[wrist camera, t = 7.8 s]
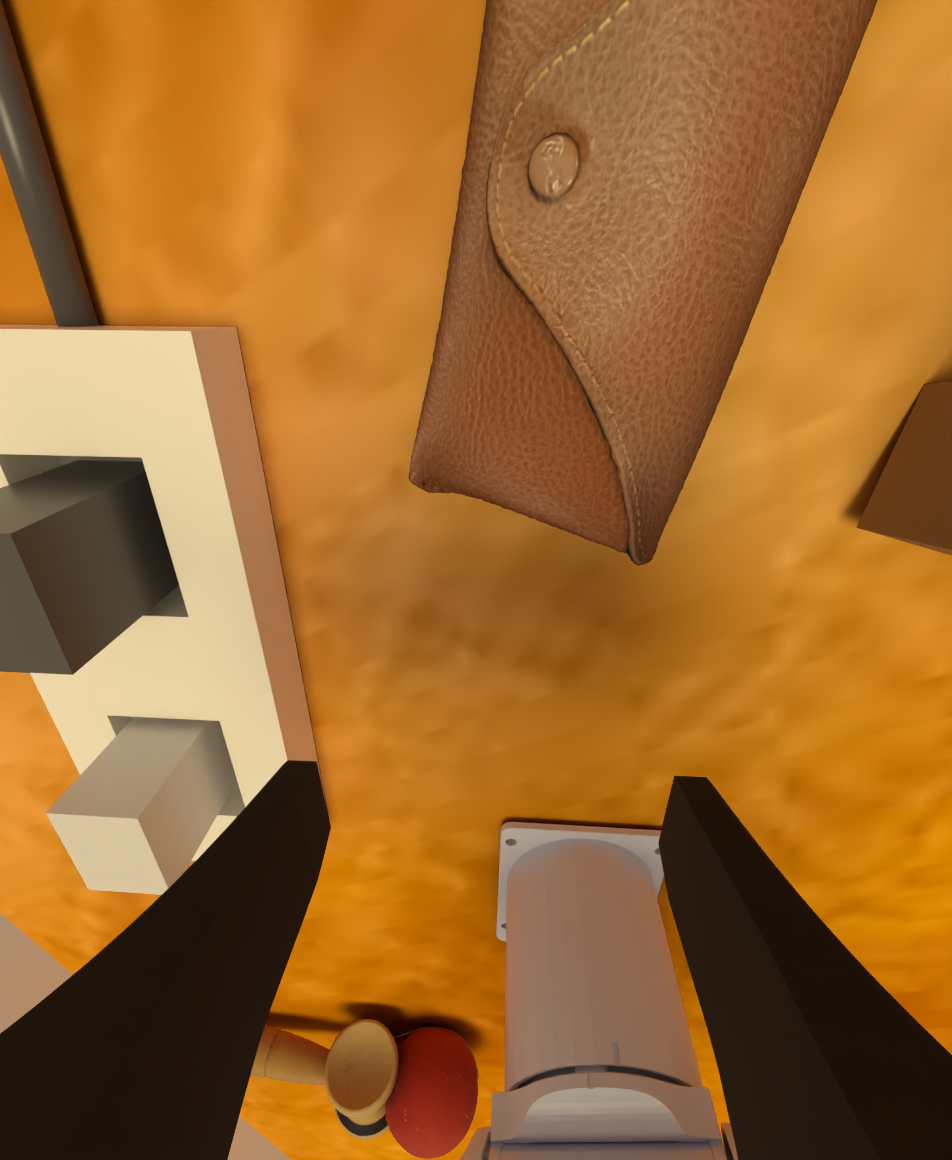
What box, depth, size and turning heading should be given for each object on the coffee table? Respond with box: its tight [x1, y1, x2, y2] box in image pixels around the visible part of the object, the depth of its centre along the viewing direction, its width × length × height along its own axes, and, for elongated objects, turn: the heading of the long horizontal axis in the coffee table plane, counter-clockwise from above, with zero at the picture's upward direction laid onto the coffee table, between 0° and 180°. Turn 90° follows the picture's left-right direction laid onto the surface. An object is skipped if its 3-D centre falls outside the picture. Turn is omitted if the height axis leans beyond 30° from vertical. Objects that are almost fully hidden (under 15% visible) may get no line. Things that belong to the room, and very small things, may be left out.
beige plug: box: [46, 717, 237, 895], centre depth 20 cm, size 4×3×6 cm
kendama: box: [250, 1019, 478, 1159], centre depth 34 cm, size 8×6×18 cm
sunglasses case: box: [409, 0, 877, 565], centre depth 13 cm, size 18×7×7 cm, turn 170°
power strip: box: [0, 0, 326, 861], centre depth 16 cm, size 32×9×6 cm, turn 0°
